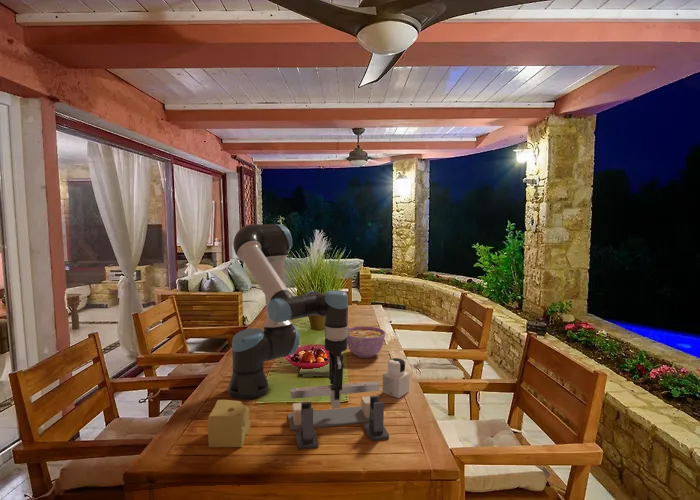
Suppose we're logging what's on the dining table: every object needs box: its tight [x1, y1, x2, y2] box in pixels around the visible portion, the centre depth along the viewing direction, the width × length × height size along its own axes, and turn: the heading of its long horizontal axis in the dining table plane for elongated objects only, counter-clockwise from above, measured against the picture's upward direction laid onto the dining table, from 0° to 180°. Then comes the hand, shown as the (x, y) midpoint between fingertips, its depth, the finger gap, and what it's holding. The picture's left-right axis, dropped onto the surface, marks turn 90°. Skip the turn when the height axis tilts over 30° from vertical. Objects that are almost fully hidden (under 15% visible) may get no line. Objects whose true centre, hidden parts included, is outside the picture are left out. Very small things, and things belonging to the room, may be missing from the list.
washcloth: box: [299, 363, 329, 378], centre depth 173 cm, size 13×18×3 cm
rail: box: [289, 380, 380, 400], centre depth 133 cm, size 30×2×2 cm, turn 103°
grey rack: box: [295, 395, 390, 451], centre depth 122 cm, size 28×8×11 cm, turn 103°
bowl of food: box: [346, 325, 387, 359], centre depth 194 cm, size 20×20×12 cm
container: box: [381, 357, 411, 399], centre depth 153 cm, size 8×8×13 cm
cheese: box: [207, 399, 251, 448], centre depth 120 cm, size 10×11×10 cm
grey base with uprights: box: [287, 396, 370, 432], centre depth 134 cm, size 31×10×5 cm, turn 103°
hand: (335, 405), depth 133 cm, fingers closed on rail, 2 cm apart
